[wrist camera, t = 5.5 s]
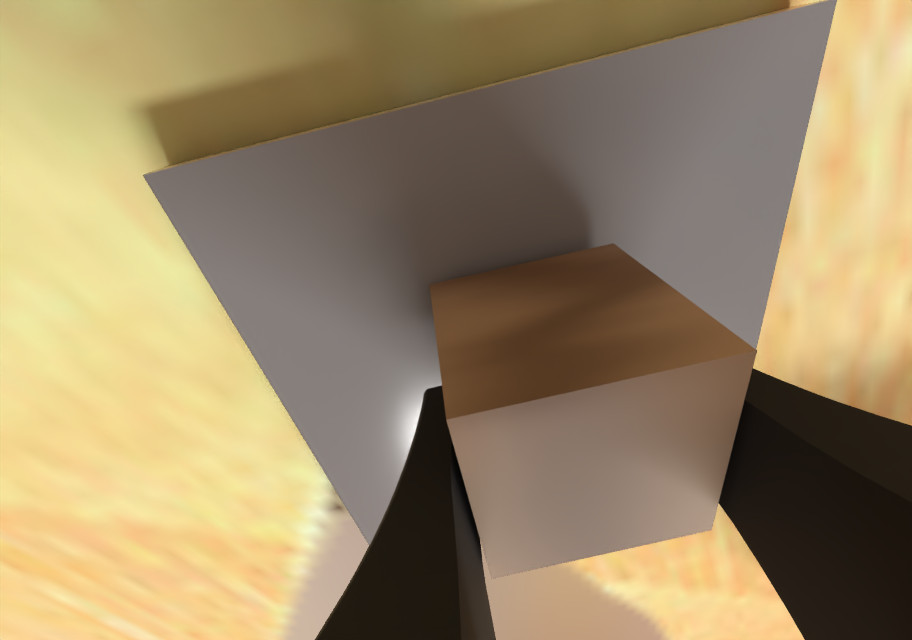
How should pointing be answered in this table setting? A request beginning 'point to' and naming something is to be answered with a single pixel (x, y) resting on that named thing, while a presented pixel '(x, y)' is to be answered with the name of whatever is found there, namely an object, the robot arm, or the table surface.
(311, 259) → the slate board
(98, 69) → the table surface
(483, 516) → the walnut cube
